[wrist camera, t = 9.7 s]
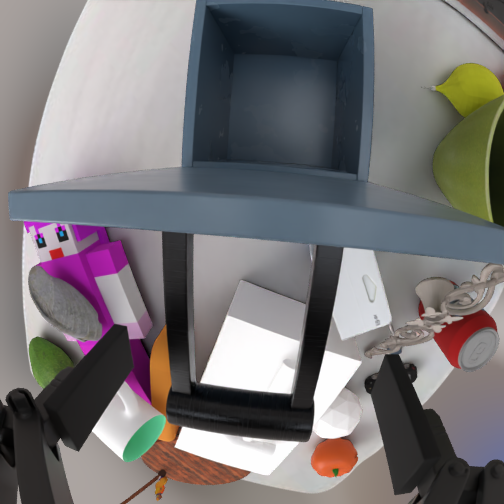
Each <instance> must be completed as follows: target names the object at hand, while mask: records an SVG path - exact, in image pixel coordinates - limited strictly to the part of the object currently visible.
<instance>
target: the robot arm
mask: <svg viewBox="0 0 504 504" xmlns="http://www.w3.org/2000/svg"><path fill="white" fill-rule="evenodd" d="M133 368H134V364H133V358H132V353H131V347H130V341H129V335H128V329H127V326H124V325H119V324H114V325H113V326H112V327H111V328H110V329H109V330H108V331H107V332H106V334H105V335H104V336H103V337H102V338H101V339H100V340H99V341H98V342H97V343H96V344H95V345H94V347H93V348H92V349H91V350H90V351H89V352H88V353H87V354H86V355H85V356H84V358H83V359H82V360H81V361H80V362H79V363H78V364H77V365H76V367H75V368H72V367H69V366H68V367H67V368H65V369H63V370H61V371H60V372H59V373H58V374H57V375H56V376H55V377H54V379H53V380H52V381H51V382H50V384H48V385H47V386H46V387H45V388H44V389H43V391H42V392H41V393H40V394H39V395H38V397H36V399H35V400H34V399H33V397H32V394H31V393H30V392H29V391H28V390H27V389H24V388H17V389H14V390H12V391H10V392H9V394H8V395H7V396H6V402H7V404H8V406H5V405H3V403H2V402H1V400H0V504H17V491H18V485H19V492H20V498H21V503H22V504H74V503H73V500H72V497H71V493H70V490H69V486H68V483H67V479H66V475H65V471H64V467H63V462H62V458H61V453H60V448H59V445H58V443H57V442H58V441H59V439H60V438H61V439H62V441H63V443H64V445H65V446H67V447H69V448H71V449H74V450H76V451H79V450H80V449H81V447H82V446H83V444H84V442H85V441H86V439H87V438H88V436H89V434H90V433H91V431H92V430H93V428H94V427H95V425H96V424H97V422H98V421H99V419H100V417H101V416H102V414H103V413H104V411H105V410H106V408H107V407H108V405H109V404H110V402H111V401H112V399H113V398H114V396H115V395H116V393H117V392H118V390H119V389H120V387H121V386H122V384H123V383H124V381H125V380H126V378H127V377H128V375H129V374H130V372H131V371H132V369H133ZM371 397H372V401H373V405H374V408H375V412H376V416H377V420H378V424H379V428H380V432H381V436H382V440H383V444H384V448H385V452H386V457H387V461H388V465H389V470H390V475H391V479H392V484H393V489H394V494H395V495H399V494H405V493H410V492H412V491H413V490H414V488H415V487H416V486H417V487H418V491H419V493H418V494H417V495H416V496H415V497H414V498H413V499H412V500H411V501H410V502H409V503H408V504H504V463H503V462H502V461H500V460H492V461H490V462H489V463H488V464H487V465H486V466H485V467H474V466H469V465H468V464H467V462H466V461H465V460H463V459H461V458H457V456H456V454H455V452H454V449H453V447H452V444H451V442H450V440H449V438H448V435H447V433H446V430H445V428H444V426H443V423H442V421H441V419H440V416H439V415H438V414H437V413H436V412H435V411H434V410H433V409H425V410H423V408H422V405H421V403H420V401H419V398H418V396H417V394H416V391H415V389H414V387H413V384H412V382H411V380H410V378H409V376H408V373H407V371H406V369H405V367H404V365H403V362H402V360H401V358H400V356H399V354H385V356H384V359H383V362H382V365H381V368H380V371H379V373H378V376H377V379H376V381H375V384H374V387H373V389H372V392H371Z"/></svg>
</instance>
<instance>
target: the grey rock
mask: <svg viewBox="0 0 504 504" xmlns="http://www.w3.org/2000/svg"><path fill="white" fill-rule="evenodd" d="M28 285H29V290H30V294H31V297H32V300H33V301H34V303H35V305H36V307H37V309H38V310H39V312H40V313H41V315H42V316H43V317H44V318H45V319H46V320H47V321H48V322H49V323H50V324H51V325H52V326H53V327H55V328H56V329H58V330H59V331H61V332H63V333H65V334H67V335H69V336H71V337H73V338H75V339H77V340H79V341H81V342H86V341H89V340H91V341H98V340H99V339H100V338H101V336H102V325H101V323H99V321H98V314H97V312H96V310H95V309H94V307H93V306H92V305H91V304H90V303H89V301H88V300H87V299H86V298H85V297H84V296H83V295H82V294H81V293H80V292H79V291H78V290H76V289H75V288H74V287H73V286H71V285H70V284H68V283H67V282H65V281H63V280H61V279H60V278H56V277H53V276H51V275H49V274H48V273H47V272H46V271H45V270H44V269H43V268H42V267H41V266H34V267H32V268H31V270H30V272H29V277H28Z"/></svg>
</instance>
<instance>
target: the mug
mask: <svg viewBox="0 0 504 504" xmlns="http://www.w3.org/2000/svg"><path fill="white" fill-rule="evenodd" d="M165 423H166V417H165V416H164V415H163V414H161V413H160V412H159V411H158V410H156V409H155V408H154V407H152V406H151V405H150V404H149V403H147V402H146V401H145V400H144V399H142V398H141V397H140V396H139V395H138V394H136V393H135V392H134V391H133V390H132V389H131V388H130V387H129V385H128V384H127V383H126V382H125V381H124V383H123V384H122V386H121V387H120V389H119V390H118V392H117V393H116V395H115V396H114V398H113V399H112V401H111V402H110V404H109V405H108V407H107V408H106V410H105V411H104V413H103V414H102V416H101V417H100V419H99V421H98V422H97V424H96V425H95V427H94V428H93V430H92V431H93V432H94V433H95V434H96V435H97V436H98V437H99V438H100V439H101V440H102V441H103V442H104V443H105V444H106V445H107V446H108V447H109V448H110V449H111V450H113V451H114V452H115V453H116V454H117V455H118V456H119V457H120V458H122V459H123V460H124V461H125V462H131V461H133V460H136V459H137V458H139V457H140V456H142V455H143V454H144V453H145V452H146V451H148V450H149V449H150V448H151V446H152V445H153V444H154V443H155V442H156V440H157V439H158V438H159V436H160V434H161V433H162V431H163V429H164V426H165Z"/></svg>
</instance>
